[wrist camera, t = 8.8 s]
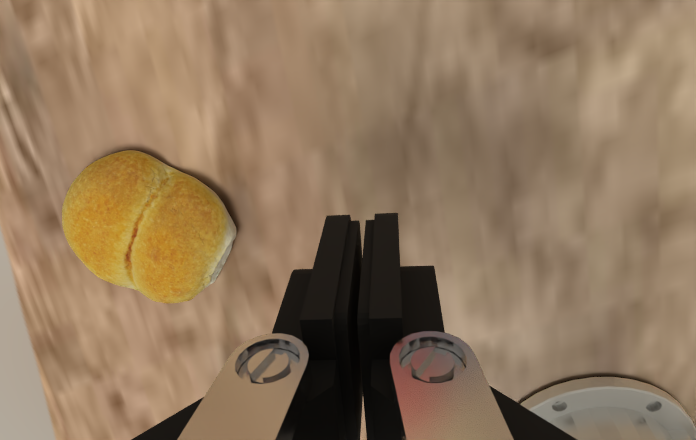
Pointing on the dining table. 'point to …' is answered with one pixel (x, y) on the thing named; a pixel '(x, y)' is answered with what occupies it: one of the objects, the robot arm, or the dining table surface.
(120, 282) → the bread roll
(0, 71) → the dining table surface
